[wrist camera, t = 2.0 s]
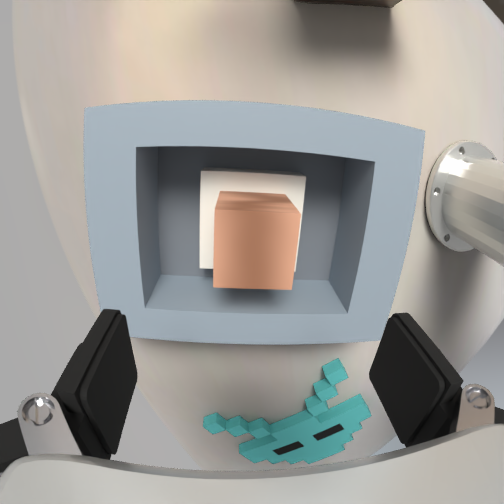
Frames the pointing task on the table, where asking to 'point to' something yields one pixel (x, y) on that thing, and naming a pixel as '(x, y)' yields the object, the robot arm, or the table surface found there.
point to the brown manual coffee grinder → (355, 2)
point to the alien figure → (300, 426)
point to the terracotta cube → (255, 240)
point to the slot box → (247, 180)
